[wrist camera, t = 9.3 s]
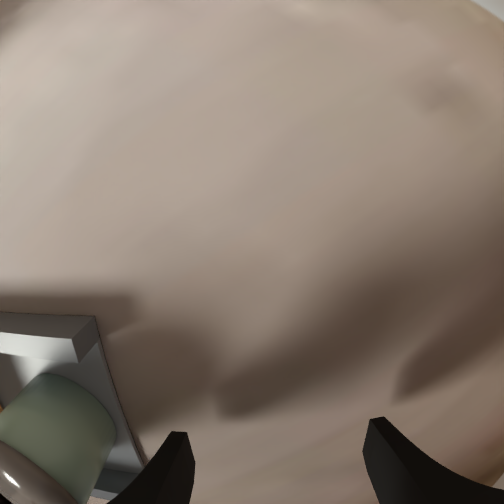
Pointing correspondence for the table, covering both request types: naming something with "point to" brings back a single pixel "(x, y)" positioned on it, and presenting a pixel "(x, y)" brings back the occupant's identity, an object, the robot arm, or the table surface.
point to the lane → (73, 368)
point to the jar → (53, 443)
